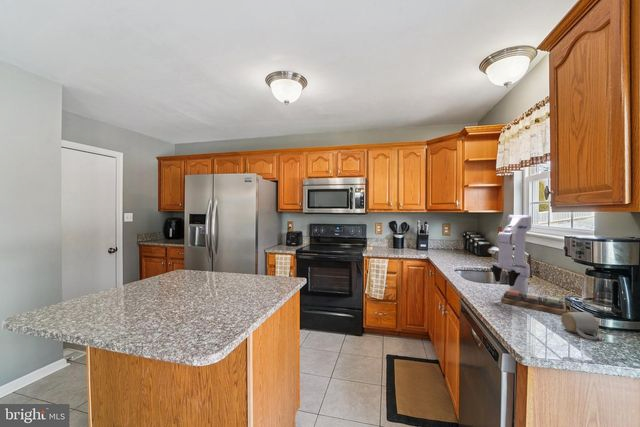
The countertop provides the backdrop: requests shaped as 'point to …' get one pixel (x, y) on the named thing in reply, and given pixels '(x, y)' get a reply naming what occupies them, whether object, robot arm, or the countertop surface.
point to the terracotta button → (514, 292)
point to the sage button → (552, 299)
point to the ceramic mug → (581, 324)
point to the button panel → (534, 303)
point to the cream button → (532, 296)
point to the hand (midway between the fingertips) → (504, 283)
